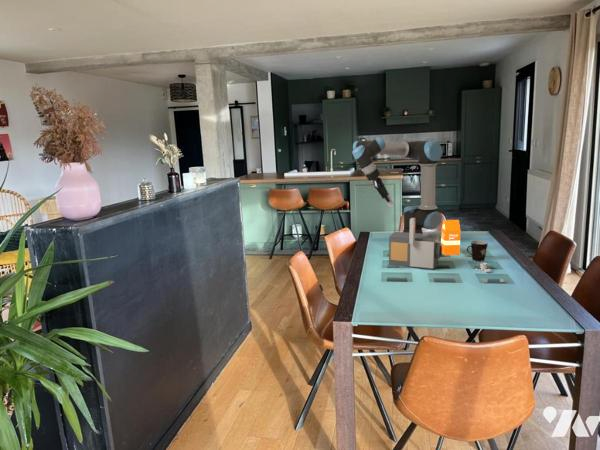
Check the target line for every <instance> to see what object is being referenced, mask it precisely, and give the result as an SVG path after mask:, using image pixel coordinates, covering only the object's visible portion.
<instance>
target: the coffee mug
mask: <svg viewBox="0 0 600 450" xmlns="http://www.w3.org/2000/svg"><path fill="white" fill-rule="evenodd" d="M488 244H489V243H488V242H487V241H485V240H471V241H470V245H469V246H467V248H466V251H467V253H468V254H469V255H471V260H472V259H473V260H472V261H474V260H475V262H485V259H486V254H487V250H488ZM469 248H471V252H470V251H469Z"/></svg>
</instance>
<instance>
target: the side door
mask: <svg viewBox="0 0 600 450" xmlns="http://www.w3.org/2000/svg"><path fill="white" fill-rule="evenodd" d="M409 244H410V266H413V267H412V268H414V267H422V268H421V269H423V268H432V269H431V270H433V268H434V242H428V241H416V240H415V218H411V219H410V232H409Z"/></svg>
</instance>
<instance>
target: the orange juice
mask: <svg viewBox="0 0 600 450" xmlns="http://www.w3.org/2000/svg"><path fill="white" fill-rule="evenodd" d="M441 225H442V226H441V230H440V231H441V236H440V237H441V238H440V243H441V244H442V255H444V256H459V255H460V246H461V232H462V231H461V225H460V220H459V219H444V220H443V221H442V224H441ZM456 254H457V255H456ZM458 254H459V255H458Z"/></svg>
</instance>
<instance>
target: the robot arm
mask: <svg viewBox="0 0 600 450" xmlns="http://www.w3.org/2000/svg"><path fill="white" fill-rule="evenodd" d="M352 155H353V157H354V160H355V161H356V162H357V164H358V165H359V167H360V169H361V172H363V174H364V175H365V177H366V179H367V180H368V181H370V182H371V181H372V185H374V186H373V187H374V188H375V190H376V191H377V192H378V193H379V195H380V196H381V198H382V199H384V200H385V202H386V204H387V205H388V207H389V208H391V207H393V206H394V205H395V204H394V202H393V200H392V199H391V196H389V195H390V192H389V191H388V190H387V188H386V186H385V184H384V182H383V180H382V178H381V177H379V176H380V175H381V173H380V171H379V170H378V168H377V166H376V164H375V162H374V161H373V159H372V158H374V157H375V156H376V155H386V156H400V157H401V158H406V159H412V160H417V161H418V165H419V166H420V204H419V205H409V206H408V205H407V206H405V207H404V208H403V229H402V232H406V233H409V232H410V219H411V218H415V233H420V234H423V233H424V231H423V229H425V230H436V229H437V228H438V227H439V226H440V225H441V222H442V214H441V213H440V212H439V211H438V209H439V207H438V206H437V205H436V167H437V165H438V164H439V160H441V158H442V156H443V148H442V146H441V144H440V143H439V142H438V141H434V140H415V141H413V140H412V141H402V142H391V141H385V140H384V139H383V138H382V137H379V136H378V137H376V138H374V139H373V140H361V139H360V140H356V141H354V142H353V144H352Z"/></svg>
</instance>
